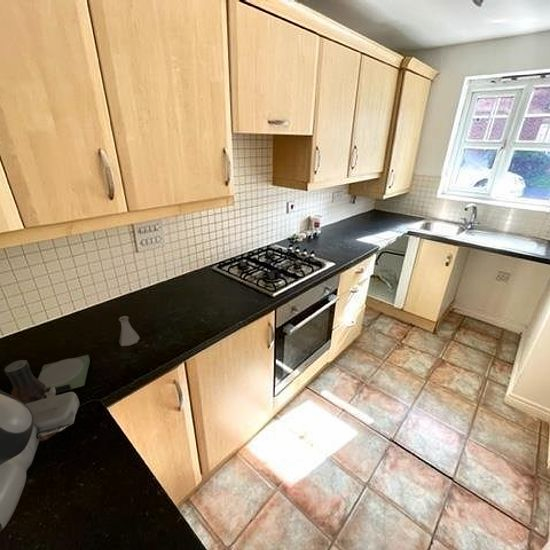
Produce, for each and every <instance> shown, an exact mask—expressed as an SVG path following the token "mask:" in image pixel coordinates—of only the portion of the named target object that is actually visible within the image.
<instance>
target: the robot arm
mask: <svg viewBox="0 0 550 550" xmlns="http://www.w3.org/2000/svg"><path fill="white" fill-rule="evenodd" d="M45 395H46V398H45V399H41V400H38V401H34V402H30V403H26V404H24V403H23V402H22V401H20V400H18V399H17V398H15V397H13V396H11V394H9V393H7V392H4V391H3V390H1V389H0V532H2V531H3V530H4V528H5V527H6V526H7V524H8V523H9V522H10V520H11V518H12V516H13V514H14V512H15V510H16V508H17V506H18V503H19V501H20V498H21V495H22V493H23V491H24V488H25V485H26V483H27V471H28V469H30V467H31V465H32V463H33V461H34V457H35V455H36V452H37V450H38V446H39V443H40V441H39V440H40V438H41V437H45V436H48V435H51V434H53V433H56V432H57V433H61V432H63V431H66V429H67V428H69V427H70V426H72V425H73V424H74V423H75V419H76V414H77V412H78V410H79V407H80V400H79V397H78V395H77V393H75V392H74V391H69V392H65V393H62V394H57V393H56V390H55V387H54V386H53V387H50V388H46V391H45ZM57 433H56V434H57Z"/></svg>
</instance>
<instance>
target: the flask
mask: <svg viewBox="0 0 550 550" xmlns="http://www.w3.org/2000/svg"><path fill="white" fill-rule="evenodd" d="M118 321H119V322H120V333H119V334H120V335H119V340H118V343H119V345H120V346H121V347H128V346H132V345H134V344H137V343H138V342H139V341H140V336H139V334H138V333H137V332H136V331H135V329H134V328H133V327H132V326H131V324H130V322H129V316H128V315H123V316H120V317H119V318H118Z"/></svg>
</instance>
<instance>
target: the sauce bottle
mask: <svg viewBox="0 0 550 550" xmlns="http://www.w3.org/2000/svg"><path fill="white" fill-rule="evenodd" d="M3 372H4V373H5V376H6V377H7V378H8V380H9V381H10V384H11V386H12V389H11V392H10V395H11V396H13V397H15V398H17V399H18V400H20V401H22V402H23V403H24V404H26V403H30V402H34V401H38V400H41V399H45V398H46V395H45V391H46V386H45V384H43V383H42V382H40V381H39V380H38V377H37V378H36V377H35V376H34V374H33V373H32V371H31V368H30V364H29V362H28V360H26V359H20V360H19V359H18V360H16V361H13V362H11V363H9V364H8V365H7V366H5V367H4V369H3ZM56 434H57V432H56V433H53V434H51V435H48V436H45V437H41V438H40V440H39V442H43V441H46V440H48V439H50V438H51V437H53V436H55V435H56Z"/></svg>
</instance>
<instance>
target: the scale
mask: <svg viewBox="0 0 550 550" xmlns="http://www.w3.org/2000/svg"><path fill="white" fill-rule="evenodd" d="M90 362H91V359H90V356H89V354H86V355H80V356H77V357H73V358H66V359H65V358H64V359H61V360H59V361H55V362H51V363H48V364H47V363H46V364H43V365H42V368H41V371H40V372H39V375H38V377H37V379H38V380H39V381H40V382H42V383H43V384H45V386H46V388H50V387H53V386H54V387H55V390H56V393H55V394H58V393H63V392H65V391H69V390H73V389H78V388H81V387H84V386H85V385H86V380H87V375H88V371H89V367H90Z"/></svg>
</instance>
